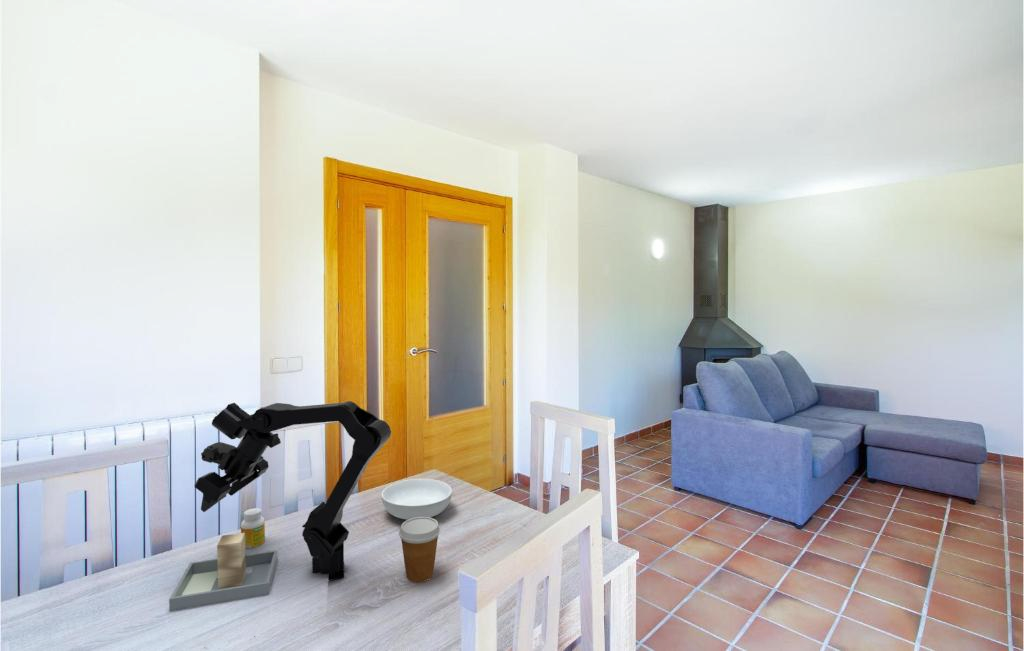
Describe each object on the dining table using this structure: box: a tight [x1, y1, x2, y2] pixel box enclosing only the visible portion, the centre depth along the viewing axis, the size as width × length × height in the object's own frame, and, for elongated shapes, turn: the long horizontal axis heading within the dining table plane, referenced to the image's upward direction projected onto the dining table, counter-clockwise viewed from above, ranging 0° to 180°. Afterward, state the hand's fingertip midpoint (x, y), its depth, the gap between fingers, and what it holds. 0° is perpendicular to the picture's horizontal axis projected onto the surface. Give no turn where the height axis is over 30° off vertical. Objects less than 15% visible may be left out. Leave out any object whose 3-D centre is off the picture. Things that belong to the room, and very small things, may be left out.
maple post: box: [216, 532, 247, 590], centre depth 107 cm, size 4×4×10 cm
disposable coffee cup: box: [398, 517, 441, 583], centre depth 113 cm, size 10×10×12 cm
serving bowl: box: [380, 478, 453, 521], centre depth 146 cm, size 21×21×7 cm
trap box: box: [168, 549, 278, 612], centre depth 107 cm, size 18×14×4 cm
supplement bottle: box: [240, 507, 266, 549], centre depth 124 cm, size 5×5×10 cm
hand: (216, 502), depth 116 cm, fingers open, 9 cm apart
